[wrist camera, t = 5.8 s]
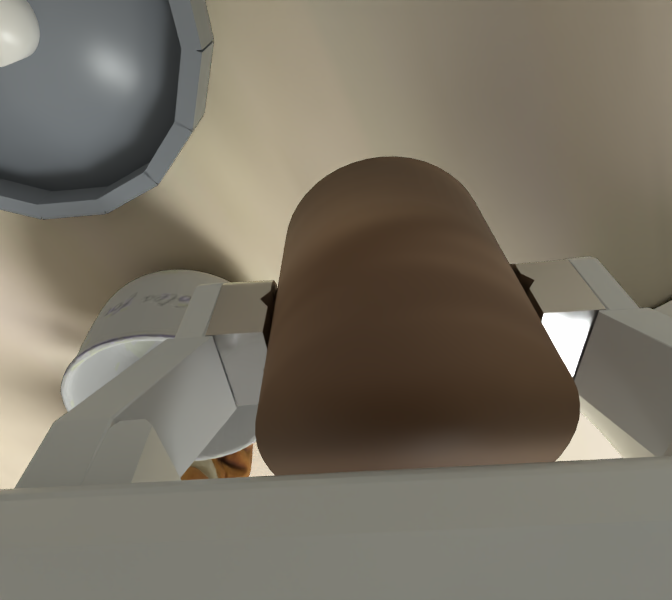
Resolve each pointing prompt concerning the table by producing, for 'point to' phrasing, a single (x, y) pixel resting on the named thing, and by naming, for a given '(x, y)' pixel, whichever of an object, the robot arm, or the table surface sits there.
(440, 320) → the walnut bead
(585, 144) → the table surface
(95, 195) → the groove tray
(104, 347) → the teacup
